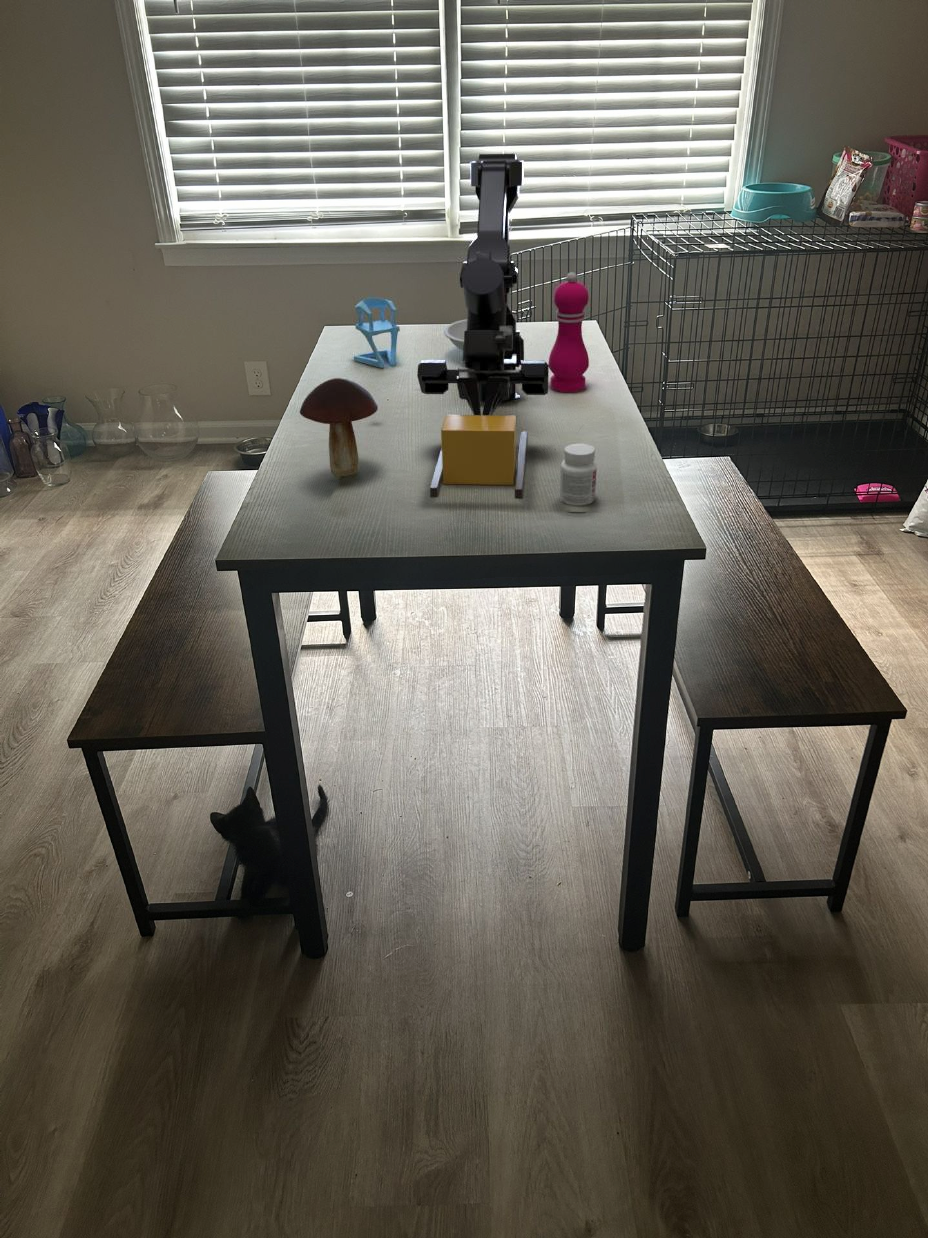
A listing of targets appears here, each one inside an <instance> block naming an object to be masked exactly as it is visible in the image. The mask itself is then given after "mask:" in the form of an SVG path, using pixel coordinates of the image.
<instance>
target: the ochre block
mask: <svg viewBox="0 0 928 1238" xmlns="http://www.w3.org/2000/svg"><path fill="white" fill-rule="evenodd" d="M440 438H441V439H440V440H441V442H440V443H441V448H442V468H443V478H442V485H482V486H483V485H484V486H485V485H489V486H490V485H492V486H514V485H515V481H516V472H517V415H506V414H505V415H500V414H499V415H498V414H495V415H494V414H493V415H482V414H481V415H473V414H445V416H444V420H443V423H442V426H441V430H440Z"/></svg>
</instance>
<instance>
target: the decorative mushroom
mask: <svg viewBox="0 0 928 1238" xmlns="http://www.w3.org/2000/svg"><path fill="white" fill-rule="evenodd" d="M378 409H379V406H378V403H377V402H376V399H374V397H373V396H372V395H371V393H370V392H369V390H367V389H366V388H365V387H363V386H361V384H359V383H357V382H355V381H352V380H349V379H347V378H341V377H333V378H330V379H328V380H325V381H323V382H321V383H319V385H317V386H316V387H314V388H313V390H311V391H310V392H309V393H308V394H307V396H306V397H305V398H304V400H303V401H302V404H301V407H300V409H299V414H300V416H301V417H303V418H305V419H307V420H310V421H313V422H316V423H320V424H325V425H329V431H328V456H329V457H328V459H329V468H330V472H331V474H332V476H333V477H334V478H336V480H337V479H338V480H341V478H342V477H348V476H352V475H355V474H357V473H358V472H359V471H360V460H359V451H358V445H357V440H356V435H355V431H354V427H353V426H354V425H353V422H356V421H360V420H364V419H367V418H369V417H371V416H373V415H375V414H376V413H377V411H378Z"/></svg>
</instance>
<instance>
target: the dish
mask: <svg viewBox="0 0 928 1238" xmlns="http://www.w3.org/2000/svg"><path fill="white" fill-rule="evenodd" d="M464 331H467V318H466V319H461V320H457V321H455V322H452V323H450V324H448V325H447V326H446V327H445V328H444V330H443V334H444V336H445V337H446V339H449V340H450V342H451V343H452V344H453V345H454V346H455V347H456V348H458V349H459V350H460V351H462V352H463V345H464ZM516 331H518V330H517V328H516Z"/></svg>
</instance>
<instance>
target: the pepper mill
mask: <svg viewBox="0 0 928 1238" xmlns="http://www.w3.org/2000/svg"><path fill="white" fill-rule="evenodd" d="M577 280H578V275H577V274H576V272H574V271H571V272H568V274H566V281H563V282H561V283H560V284H559V285H558V286H557V287H556V288H555V290H554V292H553V303H554V306H555V307H556V308H557V310H556V311H555V314H556V316H555V319H556V321H557V325H558V328H557V335H556V337H555V338H556V339H555V340H554V341H555V342H554V344H553V346H552V347H551V350H550V353H549V357H548V362H547V364H548V365H549V371H550V372H551V373H552V375H551V377H550V388H551V389H552V390H553V391H556V392H560V393H576V392H580V391H583V390H584V389H585V388H586V376H585V375H584V374H585V373H586V372H587V370H588V369H589V366H590V358H589V353H588V350H587V347H586V345H585V342H584V338H583V330H582V328H583V327H582V326H583V321H584V320H585V318H586V316H585V314H586V311H585V310H584V309H585V307H586V306H587V305H588V303H589V291H588V289H587V287H586V285H584V284H583V283H581V282H579V281H577Z"/></svg>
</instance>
